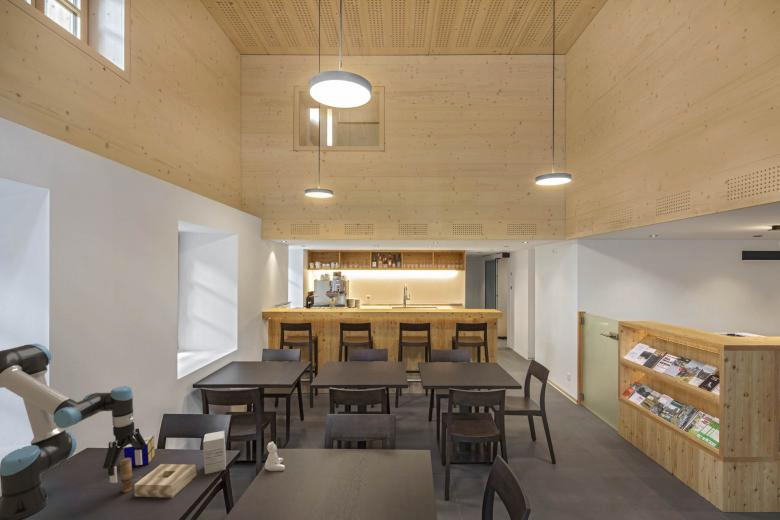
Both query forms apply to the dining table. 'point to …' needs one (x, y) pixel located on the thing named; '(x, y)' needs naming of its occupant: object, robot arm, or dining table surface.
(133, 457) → the puzzle cube
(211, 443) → the supplement box
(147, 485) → the board
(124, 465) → the peg
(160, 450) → the dining table surface
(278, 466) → the sitting furry creature
